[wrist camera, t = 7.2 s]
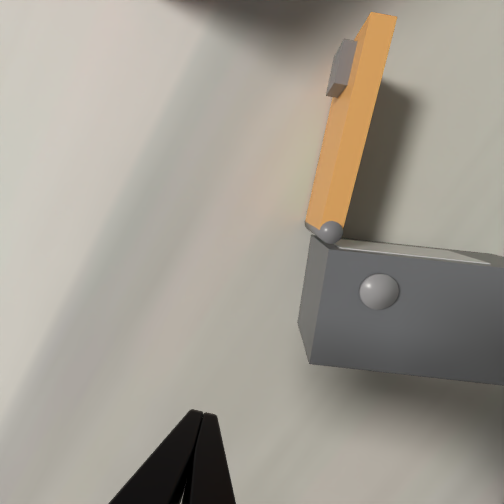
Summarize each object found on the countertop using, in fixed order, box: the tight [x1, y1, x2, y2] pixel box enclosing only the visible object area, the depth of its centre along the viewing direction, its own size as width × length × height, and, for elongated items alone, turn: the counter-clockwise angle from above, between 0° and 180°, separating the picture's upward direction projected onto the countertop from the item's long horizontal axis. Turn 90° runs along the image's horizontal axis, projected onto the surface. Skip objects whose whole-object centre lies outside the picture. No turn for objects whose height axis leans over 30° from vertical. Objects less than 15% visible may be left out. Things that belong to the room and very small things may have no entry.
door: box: [305, 12, 397, 244], centre depth 15 cm, size 2×11×5 cm, turn 170°
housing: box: [298, 235, 504, 385], centre depth 17 cm, size 7×14×5 cm, turn 84°
